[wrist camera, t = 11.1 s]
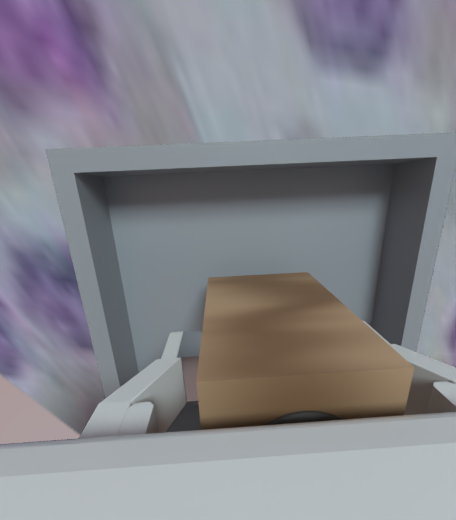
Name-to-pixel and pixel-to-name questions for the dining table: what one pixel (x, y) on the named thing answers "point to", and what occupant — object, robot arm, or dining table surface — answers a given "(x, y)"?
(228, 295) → the block
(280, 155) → the tray
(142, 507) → the robot arm
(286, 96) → the dining table surface
